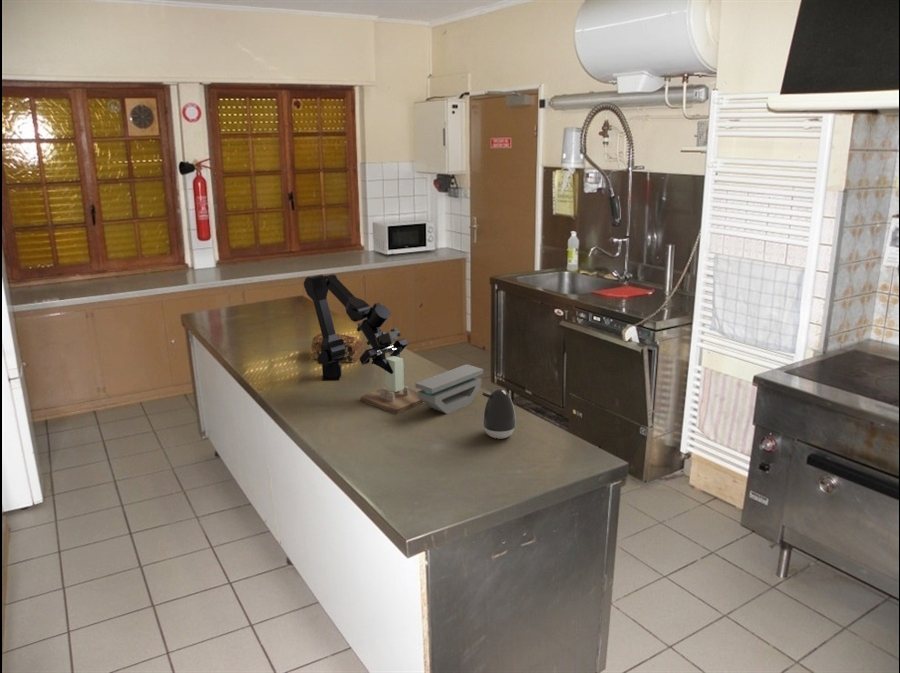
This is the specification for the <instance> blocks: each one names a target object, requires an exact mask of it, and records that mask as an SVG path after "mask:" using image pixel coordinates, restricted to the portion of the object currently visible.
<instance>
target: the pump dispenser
mask: <svg viewBox="0 0 900 673" xmlns="http://www.w3.org/2000/svg"><path fill="white" fill-rule="evenodd" d="M481 394H482V396H483V397H486V398H488V399H487V402H486V404H485V407H484V412H483V416H482V426H483V428H484V431H485V432H486V434H487V435H488V436H489V437H491V438H494V439H496V438H497V439H496V440H499V439H501V440H502V439H503V440H504V439H506V438H509V437H510V436H511V435H512V434H513V433H514V431H515V429H516V426H517V417H516V411H515V407H514V402H513V401H512V398H511V396H510V395H509V393H508V391H506V390H505V389H503V388H496V389H494V390H493V391H492V392H491V393H488V392H486V391H485V392H484V391H483V392H482V393H481Z"/></svg>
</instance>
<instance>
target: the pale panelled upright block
mask: <svg viewBox="0 0 900 673" xmlns="http://www.w3.org/2000/svg"><path fill="white" fill-rule="evenodd" d="M389 356H390V355H389ZM389 356H388V357H386V360H387V361H388V363H389V365H390V366H391V368H392V370H393V373H392V374H390V373H389V372H387V371H386V370H384V377H385V378H384V381H385V387H386V389H389V390H391V391H394V392H397V391H399V390H402V389H404V386H405V381H404V380H405V379H404V378H405V375H404V373H405V372H404V358H402V357H400V358H399V357H396V356H390V357H389Z"/></svg>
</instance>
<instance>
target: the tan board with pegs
mask: <svg viewBox="0 0 900 673" xmlns="http://www.w3.org/2000/svg"><path fill="white" fill-rule="evenodd" d="M360 401H361V402H363V401H364V403H366V402H367V403H366V404H369V403H370V404H369V405H371V404H373V405H372V406H374V405H375V407H377V406H378V407H377V408H379V407H381V408H380V409H382V408H383V410H385V409H386V410H385V411H387V410H388V412H390V411H391V413H393V412H394V414H395V413H396V415H398V414H400V413H402V411H403V412H405V411H407V410H410V409H413V408H414V406H415V407H417V406H419V405H421V403H422V404H424V403H423V401H422V400H420V399H419V398H418V391H416V390H413V389H410V387H409V386H407V385H404V389H402V390H399V391H397V392H394V391H391V390H389V389H386V386H384V387H382V388H379V389H377V390H374V391H371V392H369V393H366V394H364V395H360ZM409 408H410V409H409ZM397 413H398V414H397Z"/></svg>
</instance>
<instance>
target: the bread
mask: <svg viewBox="0 0 900 673" xmlns="http://www.w3.org/2000/svg"><path fill="white" fill-rule="evenodd" d="M336 335H337V336H338V337H339V338H340V339H341V338H342V339H343V342H344V346H345V348H346V349H345V355H344V359H343V361H340V363H343V362H344V363H350V362H352V363H355V362H357V360H358V358H359V359H360V356H361V355H362V354H363V341H362V340H361V339H360V338H358V337H357V336H351V335H347V334H342V333H336ZM322 340H323V336H322V333H319V334H317V335H315V336H314V337H313V338H312V342H311V354H312V358H313V359H315V360H317V357H318V356H319V355H320V354H321V352H322V351H321V344H322ZM354 361H355V362H354Z"/></svg>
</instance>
